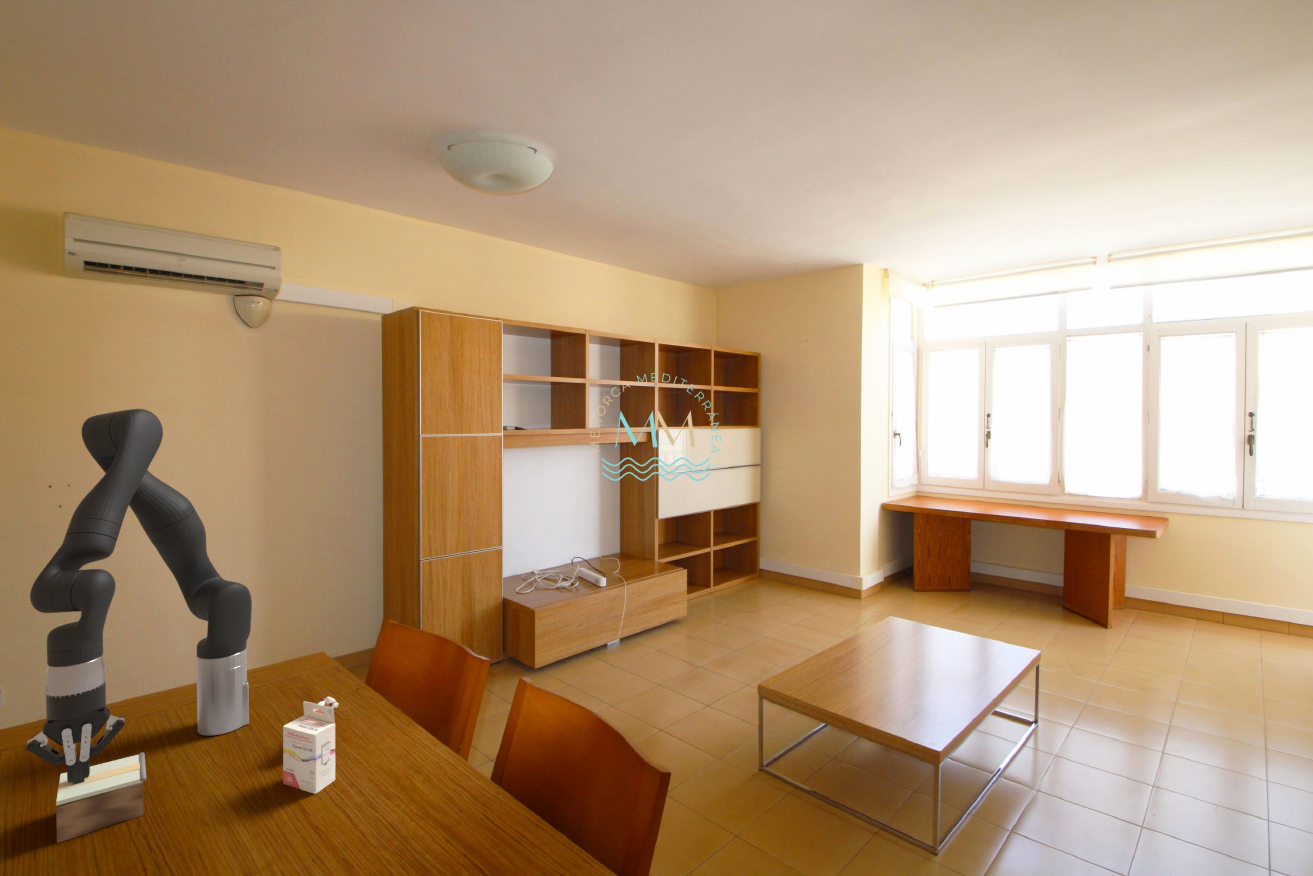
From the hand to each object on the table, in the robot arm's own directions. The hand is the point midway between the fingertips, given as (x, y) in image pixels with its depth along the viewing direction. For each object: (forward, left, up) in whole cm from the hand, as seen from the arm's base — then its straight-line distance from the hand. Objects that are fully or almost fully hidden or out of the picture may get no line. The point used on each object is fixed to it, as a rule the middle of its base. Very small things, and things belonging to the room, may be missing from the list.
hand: (78, 781), depth 106 cm
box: (-3, 0, -7) cm, 8 cm away
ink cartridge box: (-33, +13, -7) cm, 36 cm away
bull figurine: (-37, -2, -7) cm, 38 cm away
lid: (-3, 0, -1) cm, 3 cm away
